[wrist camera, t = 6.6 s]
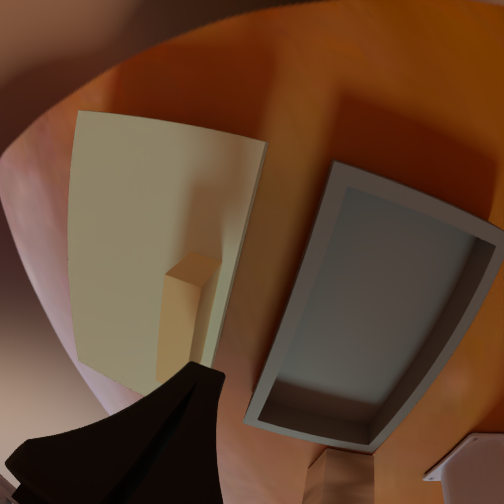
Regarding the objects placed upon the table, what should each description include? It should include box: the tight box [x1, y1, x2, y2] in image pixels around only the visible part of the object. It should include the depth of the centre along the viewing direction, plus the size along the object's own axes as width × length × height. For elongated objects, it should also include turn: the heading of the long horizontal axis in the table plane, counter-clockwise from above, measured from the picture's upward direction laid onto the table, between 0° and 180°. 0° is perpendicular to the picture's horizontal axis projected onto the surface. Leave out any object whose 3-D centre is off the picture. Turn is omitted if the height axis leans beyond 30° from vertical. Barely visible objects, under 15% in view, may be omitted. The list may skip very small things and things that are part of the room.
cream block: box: [302, 448, 374, 504], centre depth 19 cm, size 4×4×6 cm
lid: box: [68, 110, 269, 396], centre depth 14 cm, size 10×17×3 cm, turn 167°
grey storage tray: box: [243, 158, 504, 453], centre depth 16 cm, size 10×17×2 cm, turn 167°
